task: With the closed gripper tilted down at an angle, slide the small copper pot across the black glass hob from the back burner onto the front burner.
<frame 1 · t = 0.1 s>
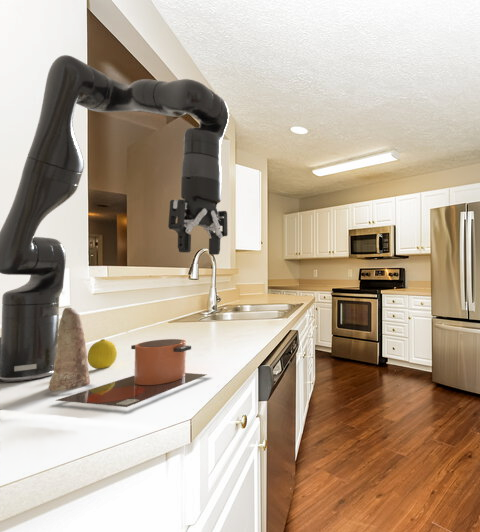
hand: (200, 253, 74), 29 cm above the counter, tool pointing down, fingers open, 8 cm apart
tapered standing stone: (70, 391, 72), on the counter
lemon: (102, 371, 86), on the counter
hob: (140, 390, 72), on the counter
pot: (160, 378, 77), point 1 cm above the counter, touching hob
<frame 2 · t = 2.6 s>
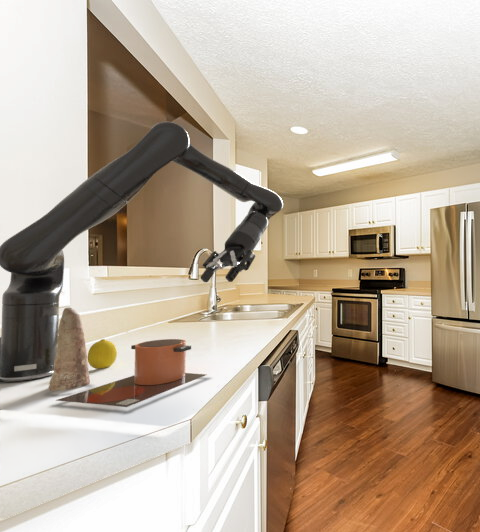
hand: (215, 280, 93), 23 cm above the counter, tool tilted 40°, fingers open, 8 cm apart
nothing on the counter moved.
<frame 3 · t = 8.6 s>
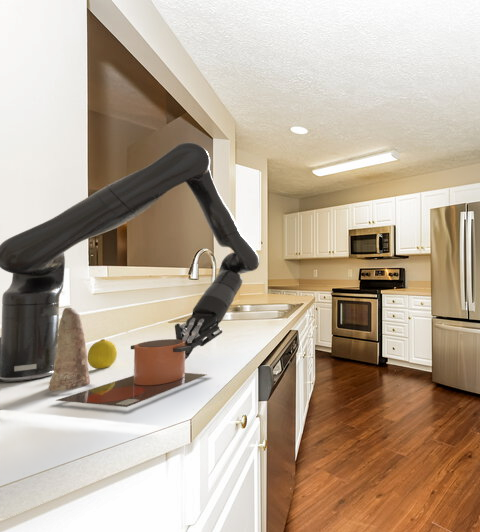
hand: (179, 358, 82), 4 cm above the counter, tool tilted 45°, fingers closed
pot: (160, 378, 77), point 1 cm above the counter, touching gripper, hob
everything else where it was.
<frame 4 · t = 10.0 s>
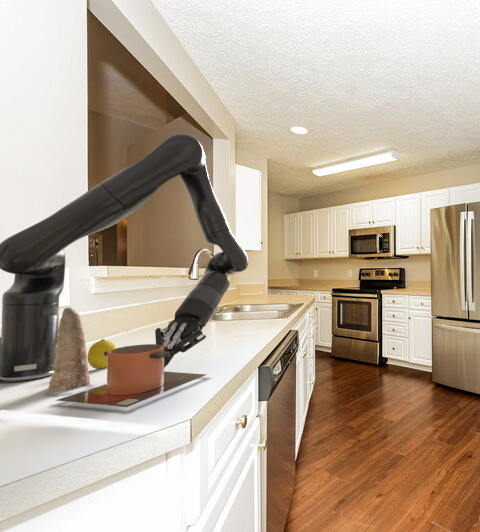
hand: (158, 366, 76), 4 cm above the counter, tool tilted 45°, fingers closed
pot: (136, 387, 71), point 1 cm above the counter, touching gripper
everything else where it was.
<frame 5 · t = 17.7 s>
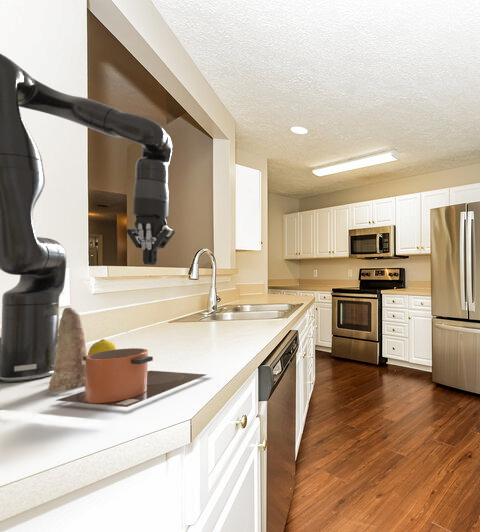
hand: (149, 264, 90), 27 cm above the counter, tool pointing down, fingers closed
pot: (117, 394, 67), point 1 cm above the counter, touching hob
everything else where it was.
at the end: pot 0.2 cm from the target spot on the hob, point 1.0 cm above the hob's base; pot tilted 0° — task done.
